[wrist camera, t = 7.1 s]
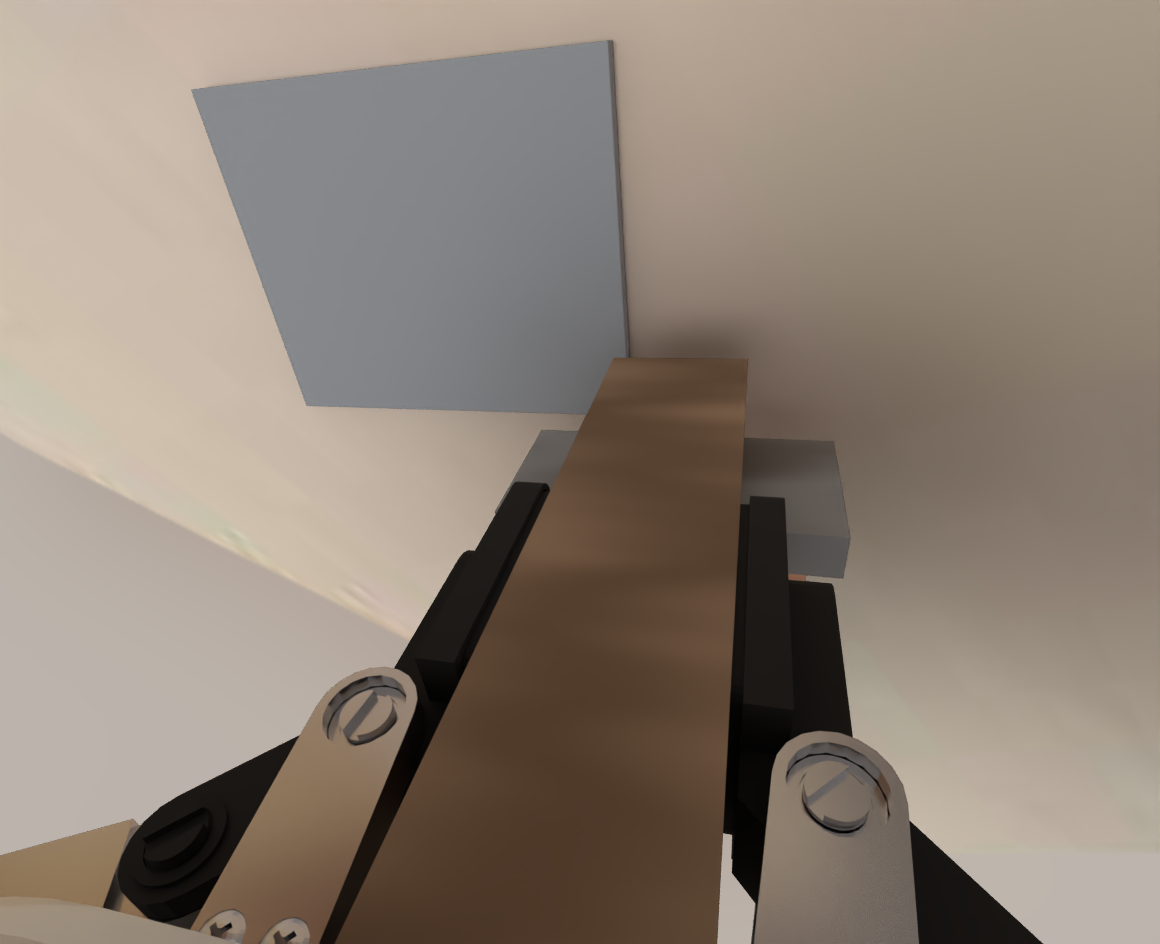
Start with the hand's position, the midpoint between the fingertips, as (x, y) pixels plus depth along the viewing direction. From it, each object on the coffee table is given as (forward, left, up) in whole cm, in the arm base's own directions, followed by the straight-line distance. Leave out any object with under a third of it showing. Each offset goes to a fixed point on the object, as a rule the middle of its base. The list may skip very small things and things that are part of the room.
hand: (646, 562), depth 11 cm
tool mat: (+8, -3, -10) cm, 13 cm away
